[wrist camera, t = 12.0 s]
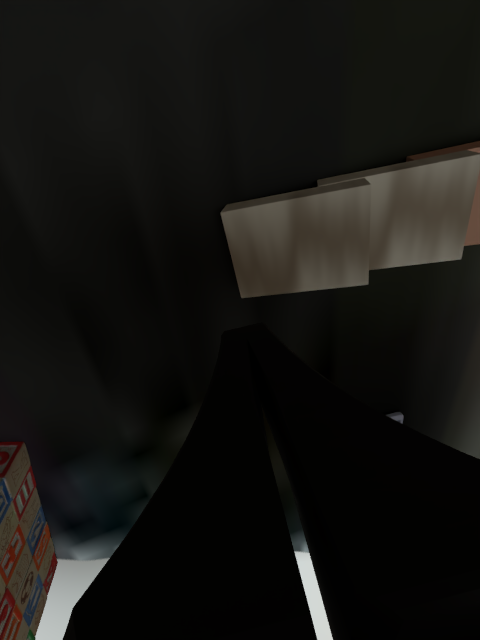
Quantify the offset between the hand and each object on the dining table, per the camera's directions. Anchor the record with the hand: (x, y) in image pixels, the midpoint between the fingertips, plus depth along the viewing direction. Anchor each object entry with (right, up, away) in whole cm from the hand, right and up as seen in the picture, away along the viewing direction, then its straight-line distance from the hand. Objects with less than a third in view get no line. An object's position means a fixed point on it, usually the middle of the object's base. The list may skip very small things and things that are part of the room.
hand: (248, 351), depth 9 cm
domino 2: (+4, +6, +7) cm, 10 cm away
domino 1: (-1, +5, +7) cm, 9 cm away
